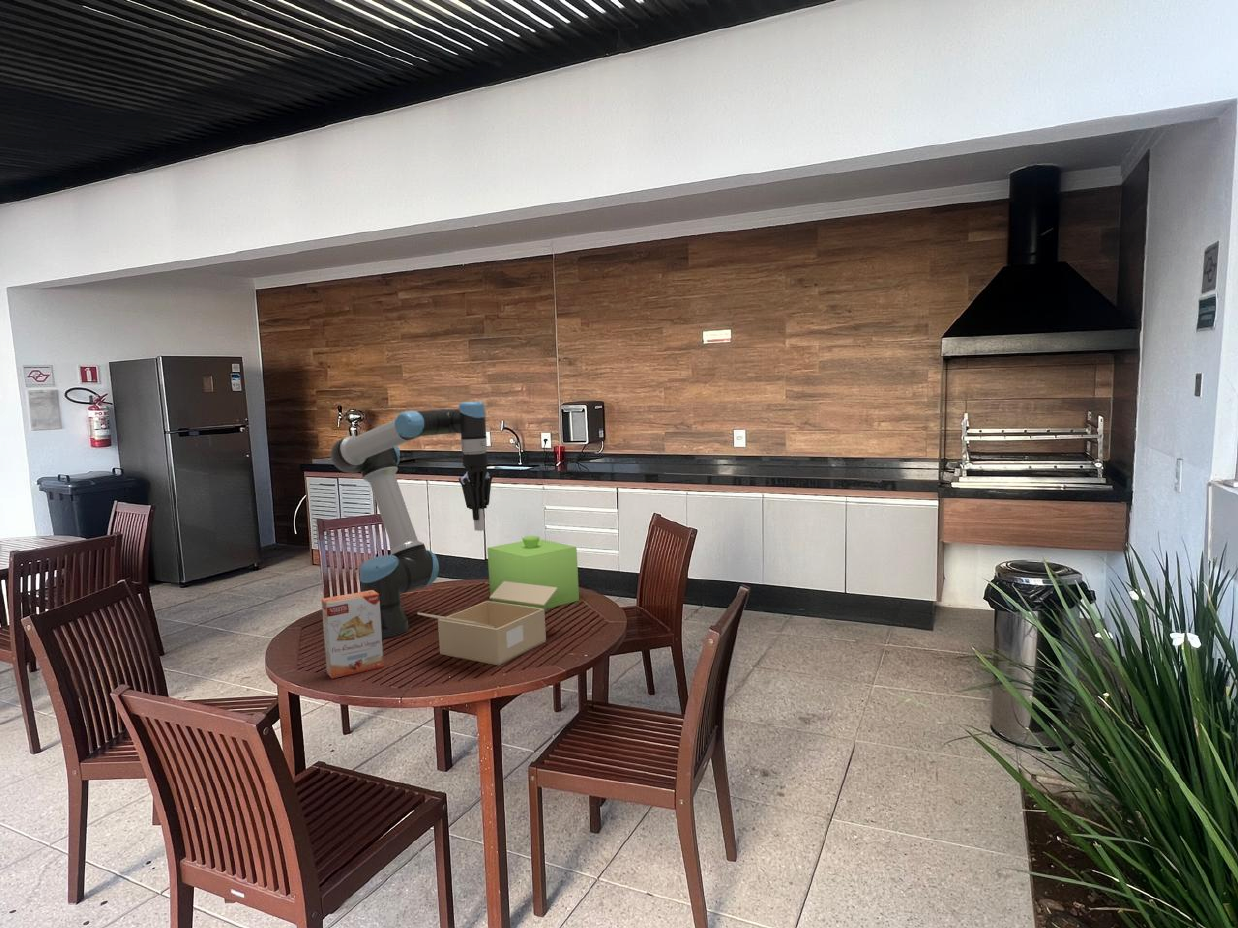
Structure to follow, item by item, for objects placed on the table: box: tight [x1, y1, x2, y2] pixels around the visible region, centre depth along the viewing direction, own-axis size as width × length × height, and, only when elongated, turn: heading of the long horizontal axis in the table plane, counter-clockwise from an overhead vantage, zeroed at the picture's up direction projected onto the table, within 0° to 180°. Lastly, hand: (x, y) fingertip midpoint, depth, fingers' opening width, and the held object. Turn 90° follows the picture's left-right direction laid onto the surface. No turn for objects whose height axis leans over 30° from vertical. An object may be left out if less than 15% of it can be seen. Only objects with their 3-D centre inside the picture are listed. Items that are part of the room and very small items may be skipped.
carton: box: [437, 600, 547, 667], centre depth 213 cm, size 22×21×10 cm
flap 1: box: [416, 612, 494, 628], centre depth 200 cm, size 21×1×8 cm
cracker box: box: [321, 590, 384, 679], centre depth 199 cm, size 14×6×21 cm, turn 124°
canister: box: [487, 535, 580, 611], centre depth 262 cm, size 25×21×23 cm
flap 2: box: [489, 581, 558, 606], centre depth 225 cm, size 21×1×8 cm
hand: (479, 530), depth 224 cm, fingers closed
